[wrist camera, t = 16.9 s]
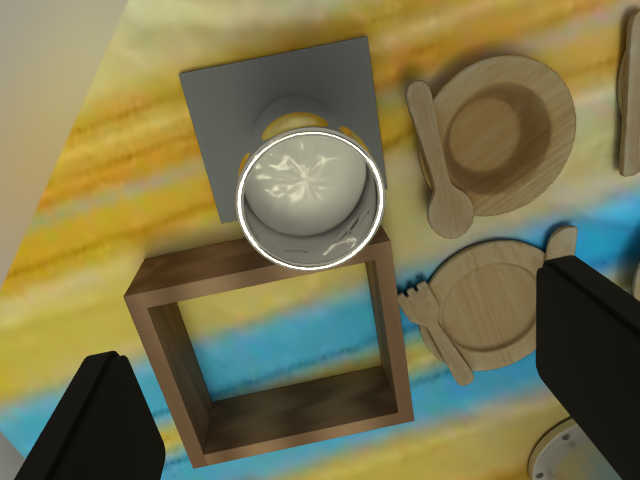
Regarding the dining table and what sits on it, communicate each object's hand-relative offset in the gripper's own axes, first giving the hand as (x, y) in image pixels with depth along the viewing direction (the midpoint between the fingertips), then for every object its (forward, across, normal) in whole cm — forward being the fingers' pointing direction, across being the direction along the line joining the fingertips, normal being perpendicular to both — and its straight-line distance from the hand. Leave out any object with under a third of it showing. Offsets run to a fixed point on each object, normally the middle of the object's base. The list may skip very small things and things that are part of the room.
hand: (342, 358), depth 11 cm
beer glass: (+26, 0, 0) cm, 26 cm away
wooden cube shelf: (+26, +4, +15) cm, 31 cm away
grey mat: (+26, 0, 0) cm, 26 cm away
